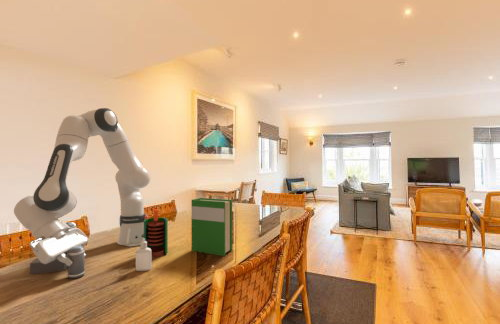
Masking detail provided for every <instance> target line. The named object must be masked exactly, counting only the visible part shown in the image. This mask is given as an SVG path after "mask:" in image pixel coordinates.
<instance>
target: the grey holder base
mask: <svg viewBox="0 0 500 324" xmlns="http://www.w3.org/2000/svg"><path fill="white" fill-rule="evenodd" d="M66 257H67V258H68V254H66ZM66 269H68V266H67V265H66V264H65V263H63V262H60V261H59V260H58V259H56V260H54V261H51V262H49V263H47V264H43V263H41V262H40V261H39V259H38V258H37V257H36V258H35V259H34V260H32V261H31V262H30V263H29V274H30V275H33V274H43V273H45V274H46V273H51V272H62V271H63V272H64V271H65V270H66Z"/></svg>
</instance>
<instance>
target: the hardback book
mask: <svg viewBox="0 0 500 324" xmlns="http://www.w3.org/2000/svg"><path fill="white" fill-rule="evenodd" d="M192 250H193V251H192ZM191 251H192V252H196V251H198V252H197V253H202V252H204V253H203V254H208V253H209V255H214V254H215V256H222V257H225V256H226V254H227V253H228V252H231V251H233V199H228V198H227V199H223V198H209V197H208V198H207V197H198V198H194V199H191Z"/></svg>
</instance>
